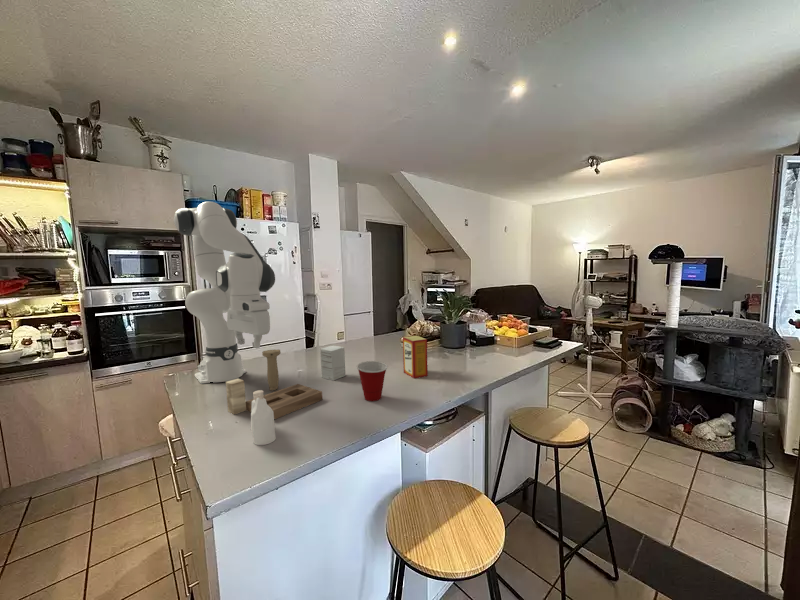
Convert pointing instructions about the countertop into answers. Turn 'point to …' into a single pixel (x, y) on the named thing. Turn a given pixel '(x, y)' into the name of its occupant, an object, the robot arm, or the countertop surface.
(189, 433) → the countertop surface
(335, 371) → the mini drawer cabinet
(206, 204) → the robot arm
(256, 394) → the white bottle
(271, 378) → the handle
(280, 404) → the socket block
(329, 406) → the countertop surface
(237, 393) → the maple peg
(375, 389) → the plastic cup
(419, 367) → the baking soda box
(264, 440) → the white sloped-shoulder bottle
